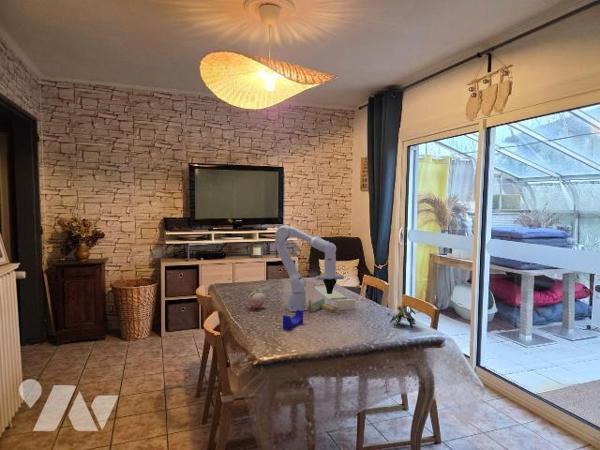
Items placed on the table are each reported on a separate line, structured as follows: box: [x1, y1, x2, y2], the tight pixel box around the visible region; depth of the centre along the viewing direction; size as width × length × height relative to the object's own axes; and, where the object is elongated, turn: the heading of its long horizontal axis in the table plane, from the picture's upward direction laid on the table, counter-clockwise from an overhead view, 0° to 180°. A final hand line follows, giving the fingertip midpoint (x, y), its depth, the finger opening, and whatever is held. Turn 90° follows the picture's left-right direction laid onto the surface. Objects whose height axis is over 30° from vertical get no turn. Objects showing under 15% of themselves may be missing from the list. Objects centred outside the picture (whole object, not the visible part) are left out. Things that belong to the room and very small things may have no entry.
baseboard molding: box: [312, 283, 347, 300], centre depth 235 cm, size 31×3×12 cm
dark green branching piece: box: [386, 305, 417, 328], centre depth 171 cm, size 11×11×12 cm
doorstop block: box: [320, 303, 340, 314], centre depth 197 cm, size 4×10×2 cm, turn 32°
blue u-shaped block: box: [282, 310, 304, 331], centre depth 171 cm, size 12×4×6 cm, turn 148°
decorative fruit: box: [247, 289, 267, 310], centre depth 198 cm, size 9×8×10 cm
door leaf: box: [311, 297, 326, 312], centre depth 199 cm, size 12×2×4 cm, turn 149°
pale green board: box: [308, 298, 356, 314], centre depth 196 cm, size 25×1×6 cm, turn 108°
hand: (329, 293), depth 195 cm, fingers closed
